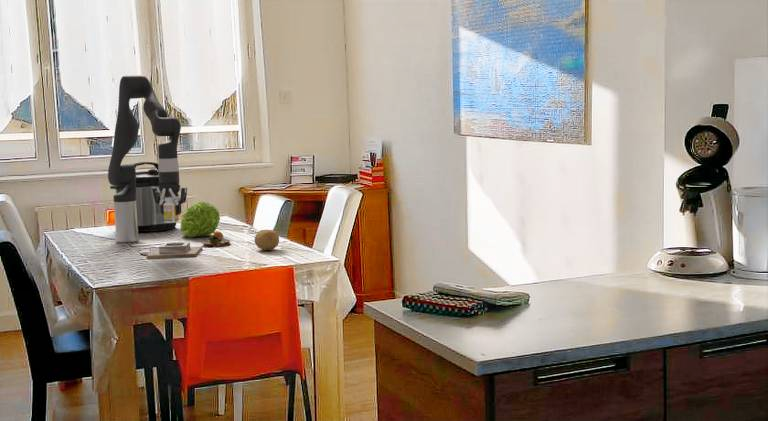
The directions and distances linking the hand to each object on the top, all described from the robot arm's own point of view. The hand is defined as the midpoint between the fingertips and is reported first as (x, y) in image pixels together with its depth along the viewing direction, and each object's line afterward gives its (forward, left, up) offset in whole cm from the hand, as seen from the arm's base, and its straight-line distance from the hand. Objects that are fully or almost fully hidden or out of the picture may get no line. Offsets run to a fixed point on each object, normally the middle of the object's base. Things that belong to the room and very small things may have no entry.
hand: (171, 214), depth 344 cm
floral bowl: (-20, +14, -16) cm, 29 cm away
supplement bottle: (0, 0, -3) cm, 3 cm away
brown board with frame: (0, +1, -15) cm, 15 cm away
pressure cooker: (-78, -25, -16) cm, 84 cm away
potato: (-1, +36, -16) cm, 39 cm away
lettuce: (-50, +3, -16) cm, 53 cm away
